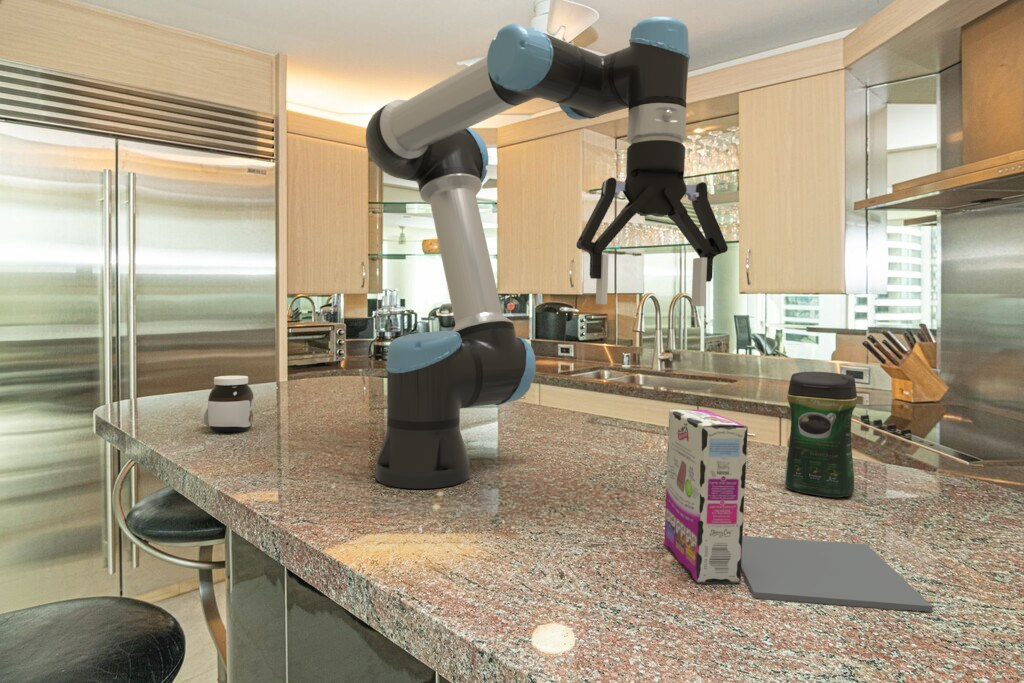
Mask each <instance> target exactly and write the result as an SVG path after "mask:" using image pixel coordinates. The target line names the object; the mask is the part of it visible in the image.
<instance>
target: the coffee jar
mask: <svg viewBox="0 0 1024 683" xmlns="http://www.w3.org/2000/svg"><path fill="white" fill-rule="evenodd" d="M786 397H787V402H788V405H789V407H790V434H789V442H788V451H787V458H786V463H785V473H784V484H785V486H786V487H787V488H788V489H789V490H791V491H796V492H799V493H802V494H805V495H812V496H818V497H819V496H820V497H829V498H842V497H846V498H847V497H848V496H851V495H852V494H853V493H854V489H855V474H854V461H853V449H852V418H853V417H852V416H853V413H854V410H855V408H856V406H857V403H858V393H857V387H856V380H855V376H854V375H851V374H845V373H837V372H828V371H801V372H800V371H799V372H795V373H793V374H792V375H791V377H790V381H789V385H788V391H787V396H786Z"/></svg>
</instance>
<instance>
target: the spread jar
mask: <svg viewBox="0 0 1024 683" xmlns="http://www.w3.org/2000/svg"><path fill="white" fill-rule="evenodd" d="M213 384H214V386H213V388H212V389H211V391H210V393H209V394H208V399H207V400H208V401H207V402H205V403H204V405H203V406H202V408H201V410H200V414H199V418H200V422H201V423H202V424H203V425H205V426H207V427H209V429H210V431H212V432H213V433H215V434H219V435H220V434H221V435H229V434H230V435H233V434H234V435H235V434H242V433H246V432H248V431H250V429H251V428H252V425H253V423H254V419H255V418H254V417H255V415H254V414H255V403H254V402H255V399H254V398H255V397H254V392H253V389H252V388H251V386H249V376H248V375H220V376H215V377H213Z"/></svg>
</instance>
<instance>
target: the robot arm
mask: <svg viewBox="0 0 1024 683" xmlns="http://www.w3.org/2000/svg"><path fill="white" fill-rule="evenodd" d="M628 42H629V46H628V47H625V48H622V49H621V50H617V51H615V52H612V53H609V54H606V55H600V54H599V55H598V54H596V53H594V52H592V51H589V50H586V49H584V48H581V47H579V46H577V45H574V44H571V43H568V42H566V41H564V40H562V39H559V38H557V37H555V36H552V35H550V34H547V33H545V32H543V31H542V30H540V29H538V28H535V27H529V26H525V25H521V24H518V23H509V24H507V25H506V24H505V25H504V26H503V27H501V28H500V29H499V30H498V31H497V35H496V37H494V38H493V39H492V40H491V42H490V44H489V48H488V51H487V56H485V57H483V58H481V59H480V60H478V61H476V62H475V63H472V64H470V65H469V66H467V67H465V68H462V69H461V70H459V71H458V72H456V73H454V74H452V75H451V76H449V77H447V78H445V79H444V80H442V81H440V82H437V83H436V84H435V85H432V86H430V87H429V88H427V89H425V90H424V91H421V93H420V92H419V93H418V94H417V95H416V94H415V96H413V97H411V98H408V99H407V100H406V99H396V100H395V99H394V100H393V101H390V102H388V103H387V104H385V105H384V106H382V107H380V108H379V109H378V110H377V111H376V112H375V113H374V114H373V115H372V117H371V118H370V119H369V121H368V124H367V126H366V130H365V146H366V148H367V152H368V154H369V157H370V159H371V160H372V161H373V163H374V164H375V165H376V166H377V167H378V168H379V169H380V170H381V171H382V172H383V173H385V174H387V175H389V176H391V177H393V178H395V179H400V180H404V181H405V180H407V181H411V182H416V183H417V185H418V186H417V187H418V191H419V196H420V198H421V200H422V201H423V202H425V203H426V204H428V205H430V208H431V213H432V217H433V223H434V228H435V233H436V237H437V241H438V245H439V246H438V247H439V252H440V257H441V262H442V265H443V271H444V276H445V281H446V286H447V290H448V295H449V300H450V305H451V309H452V313H453V318H454V324H455V326H454V328H453V329H452V330H435V331H426V332H425V331H422V332H416V333H410V334H405V335H401V336H399V337H396V338H394V339H393V340H392V341H391V342H390V344H388V350H387V362H386V366H385V368H386V371H387V374H386V375H387V378H386V379H387V380H386V381H387V382H386V385H387V388H386V389H387V391H386V392H387V393H386V396H387V397H386V399H387V400H386V404H387V405H386V408H387V409H386V410H387V411H386V412H387V413H386V415H387V416H386V417H387V419H386V420H387V421H386V422H387V423H386V424H387V425H386V432H385V436H384V439H383V442H382V445H381V448H380V451H379V453H378V458H377V460H376V462H375V463H376V464H375V479H376V480H377V481H378V482H379V483H380V484H382V485H386V486H389V487H394V488H401V489H402V488H403V489H417V490H423V489H427V490H428V489H439V488H440V489H441V488H445V487H450V486H456V485H458V484H462V483H464V482H466V481H467V480H469V478H471V477H470V476H471V462H470V459H469V456H468V452H467V449H466V446H465V442H464V439H463V437H462V432H461V430H460V429H461V428H460V425H461V424H460V423H461V422H460V420H461V415H460V414H461V409H465V408H467V409H468V408H475V407H483V406H484V407H485V406H490V405H496V406H502V405H504V404H507V403H512V402H516V401H518V400H520V399H522V398H523V397H524V396H526V394H527V393H528V392H529V390H530V388H531V384H532V383H533V382H534V380H535V376H536V369H537V367H536V366H537V364H536V360H537V359H536V354H535V352H534V349H533V347H532V345H531V344H530V343H529V342H528V341H527V340H526V339H524V338H522V337H519V336H517V334H516V330H515V326H514V322H513V321H512V320H511V319H509V318H507V317H506V316H504V315H503V311H502V306H501V302H500V298H499V293H498V289H497V283H496V279H495V275H494V271H493V266H492V261H491V257H490V253H489V249H488V244H487V239H486V236H485V231H484V230H485V229H484V227H483V226H484V225H483V222H482V221H483V220H482V217H481V212H480V208H479V204H478V198H477V194H478V193H479V192H480V191H481V189H482V183H483V182H484V180H485V178H486V176H487V174H488V169H487V166H489V153H488V147H487V145H486V143H485V141H484V139H483V137H482V136H481V135H480V133H478V132H477V131H476V130H474V129H473V128H471V127H473V126H475V125H477V124H479V123H482V122H484V121H486V120H488V119H491V118H493V117H495V116H497V115H499V114H501V113H504V112H506V111H508V110H510V109H512V108H516V107H517V106H519V105H522V104H524V103H527V102H530V101H531V100H533V99H542V100H546V101H550V102H553V103H555V104H558V105H559V107H560V109H561V111H563V112H564V113H565V114H566V116H567V117H569V118H570V119H571V120H572V119H573V120H578V121H581V120H586V119H589V120H592V119H595V118H599V117H601V116H604V115H607V114H610V113H613V112H614V113H615V112H618V111H621V110H624V109H625V110H626V109H628V110H627V112H628V117H627V134H626V135H627V137H626V138H627V139H626V141H627V143H629V144H630V145H629V146H628V147H627V149H626V168H625V169H626V170H625V173H626V175H625V176H626V177H625V181H621V180H617V179H616V178H615V177H611V176H610V177H609V178H608V179H606V180H604V181H603V182H602V184H601V185H602V186H601V192H600V197H599V200H598V201H597V203H596V205H595V207H594V208H593V210H592V212H591V215H590V217H589V218H588V220H587V222H586V224H585V227H584V228H583V230H582V232H581V234H580V236H579V237H578V240H577V241H576V248H577V249H578V250H582V251H585V252H586V253H588V255H589V277H590V279H591V280H592V279H593V280H595V279H596V283H595V284H596V285H595V286H596V288H595V305H608V286H609V284H608V282H609V281H608V280H609V257H610V256H609V254H608V253H607V254H606V253H603V252H604V251H605V249H606V248H607V247H608V246H609V244H610V243H611V242H612V241H613V240H614V239H615V238H616V236H617V235H619V233H620V232H621V231H622V230H623V229H624V228H625V226H626V225H627V224H628V223H629V221H631V219H633V217H635V216H636V215H639V216H640V217H647V216H653V217H657V218H658V217H659V218H660V217H661V218H662V217H666V216H667V217H668V218H669V220H671V221H673V223H674V224H675V225H676V226H677V228H678V229H679V231H680V232H681V233H682V235H683V237H684V238H685V239H686V240H687V241H688V243H689V245H690V246H691V247H692V248H693V250H694V251H695V252H696V254H697V255H698V257H695V258H692V281H691V282H692V283H691V284H692V285H691V307H706V300H707V299H706V297H707V296H706V295H707V294H706V293H707V283H708V282H709V283H710V282H712V279H713V272H714V271H713V269H714V268H713V266H714V258H715V257H717V256H718V255H722V254H724V253H726V252H727V251H728V247H729V246H728V244H727V242H726V240H725V238H724V234H723V233H722V229H721V227H720V225H719V223H718V221H717V220H718V219H717V218H716V215H715V213H714V211H713V207H712V206H711V203H710V201H709V196H708V186H707V183H706V182H704V181H701V182H699V183H696V184H686V183H685V179H684V176H685V174H684V173H685V161H686V160H685V159H686V146H685V145H684V144H683V142H684V141H685V140H686V135H687V134H686V129H687V90H688V89H687V88H688V74H689V63H690V62H689V61H690V58H691V57H690V52H689V50H690V48H689V47H690V46H689V29H688V26H687V25H686V23H685V22H683V21H682V20H679V19H678V18H675V17H671V16H664V15H662V16H653V17H652V16H651V17H647V18H644V19H642V20H639V21H638V22H637V23H636V24H635V25H634V26H633V27H632V28H631V32H630V39H629V40H628ZM620 192H622V193H623V195H624V196H625V198H626V200H627V201H628V202H627V203H626V204H625V206H624V207H623V208H622V209H621V211H620V213H619V214H618V215H617V216H616V217H615V218H614V220H612V222H611V223H610V224H609V225H608V226H607V228H606V229H605V230H604V231H603V232H602V233H601V234H600V236H598V238H597V239H596V240H595V241H594V242H593V239H594V238H595V236H596V233H597V231H598V230H599V228H600V226H601V224H602V222H603V220H604V218H605V216H606V214H607V213H608V210H609V209H610V206H611V205H612V202H613V201H614V200H615V198H616V197H618V196H619V195H620ZM685 195H686V196H687V199H688V200H689V201H690V202H691V205H692V208H693V211H694V213H695V216H696V217H697V221H698V222H699V225H700V227H701V229H702V231H701V230H700V228H699V227H698V225H697V224H696V223H695V222H694V220H693V219H692V217H691V216H690V215H689V213H688V210H687V208H686V207H685V206H684V204H683V203H682V201H681V200H682V199H683V198H684V197H685Z"/></svg>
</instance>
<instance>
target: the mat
mask: <svg viewBox="0 0 1024 683" xmlns="http://www.w3.org/2000/svg"><path fill="white" fill-rule="evenodd" d="M741 576H742V577H743V578H744V581H745V583H746V585H747V587H748V589H749V591H750V594H751V596H752V597H753V599H761V600H770V601H771V600H773V601H785V602H787V601H788V602H798V603H811V604H822V605H823V604H825V605H834V606H835V605H836V606H846V607H861V608H869V609H870V608H871V609H883V610H884V609H885V610H896V611H899V610H900V611H907V610H913V611H912V612H919V611H925V612H924V613H931V612H932V613H933V608H934V606H933V605H932V604H931V603H930V602H929V601H928V600H926V598H924V597H923V596H922V595H921V593H919V592H918V591H917V590H916V589H915V588H914V587H913V586H912V585H911V584H910V583H909V582H907V580H906V579H904V578H903V577H902V576H901V575H900V574H899V573H898V572H897V571H896V570H895V569H894V568H892V567H891V566H890V565H889V564H888V563H887V562H886V561H885V560H884V559H883V558H882V557H881V556H880V554H878V553H876V551H874V549H872V548H871V547H870V546H869V545H868V544H867V543H851V542H838V541H825V540H824V541H822V540H808V539H793V538H776V537H764V536H762V537H761V536H749V535H743V537H742V559H741ZM914 610H916V611H914ZM917 610H918V611H917Z"/></svg>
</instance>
